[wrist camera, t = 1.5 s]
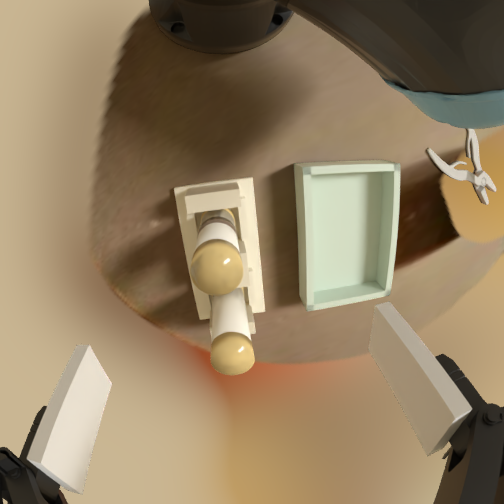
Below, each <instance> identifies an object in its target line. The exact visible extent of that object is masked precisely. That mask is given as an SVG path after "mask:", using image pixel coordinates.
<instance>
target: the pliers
mask: <svg viewBox="0 0 504 504" xmlns="http://www.w3.org/2000/svg"><path fill="white" fill-rule="evenodd" d="M467 131H468V135H467V143H466V148H467V152H466V157H468V158H470V155H471V161H472V163H473V166H474V171H473V173H471V172H469V171H467V170H457V169H453V168H454V167H455V166H456V165H458V164H465V165H466V163H464V162H461V161H457V162H454V163H452V164H451V165H447V164H446V163H445V162H444V161H442V160H441V159H440V158H439V157H438V156H437V155H436V154H435V153H434V152H433V151H432V150H431V149H430V148H428V149H427V152H428V154H429V155H430V157H431V159H432V160H433V162H434V163H435V164H436V165H437V167H438V168H439V169H440V170H441V171H443V172H444V173H445V174H446V175H447V176H449V177H451V178H453V179H456V180H460V181H461V180H468V181H469V182H471V183H472V185H473V188H474V190H475V192H476V194H477V196H478V198H479V200H480V202H481V203H483V204H485V205H488V203H489V201H488V198H487V194H486V190H485V188H484V186H485V187H486V188H487V189H488V190H491V191H493V192H496V187H495V185H494V184H493V182H492V180H491V179H490V177H489V176H488V174H486V172H484V171H482V168H481V166H480V160H479V146H478V141H477V137H476V134H475V131H474V129H467ZM470 141H471V147H472V148H470V150H469V144H470Z"/></svg>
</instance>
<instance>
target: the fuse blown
mask: <svg viewBox="0 0 504 504" xmlns="http://www.w3.org/2000/svg"><path fill="white" fill-rule="evenodd" d="M190 276H191V279H192V281H193V283H194V285H195V286H196V287H197V288H198V289H199V290H201V291H202V292H204V293H206V294H209V295H224V294H228V293H230V292H232V291H233V290H234V289H236V288H237V287H238V286H239V284H240V283H241V281H242V278H243V264H242V259H241V255H240V251H239V245H238V237H237V231H236V227H235V217H234V214H233V212H232V211H231V209H230V208H227V209H219V210H211V211H204V212H203V214H202V217H201V221H200V228H199V231H198V236H197V242H196V246H195V251H194V254H193V257H192V262H191V267H190Z"/></svg>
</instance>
